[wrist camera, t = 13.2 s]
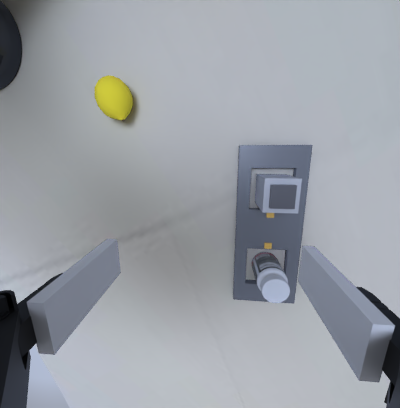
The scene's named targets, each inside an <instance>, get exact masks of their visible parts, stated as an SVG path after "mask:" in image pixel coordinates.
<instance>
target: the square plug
mask: <svg viewBox="0 0 400 408" xmlns="http://www.w3.org/2000/svg"><path fill="white" fill-rule="evenodd" d="M301 183H302V179H301V178H297V177H294V176H290V175H287V174H257V177H256V194H255V203H256V204H257V206H258V207H259V208H260V210H261V211H262V213H296V214H298V210H299V201H300V192H301Z"/></svg>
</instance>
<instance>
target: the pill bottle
mask: <svg viewBox="0 0 400 408" xmlns="http://www.w3.org/2000/svg"><path fill="white" fill-rule="evenodd" d="M252 268H253V272H254V275H255V279H256V283H257V286H258V288H259V289H260V291H261V292H262V295H263V297H264V298H265V299H266V300H267V301H269V302H272V303H280V302H283V301H285V300H286V299H287V298H288V296H289V294H290V288H289V285H288V279H287V277H286V275H285V273H284V271H283V269H282V267H281V266H280V264H279V262H278V260H277V258H276V257H275V256H274V255H273V254H271V253H268V252H262V253H259V254H257V255H256V256H255V257H254V258H253V260H252Z"/></svg>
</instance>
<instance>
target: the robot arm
mask: <svg viewBox="0 0 400 408" xmlns="http://www.w3.org/2000/svg"><path fill="white" fill-rule="evenodd" d="M20 60H21V40H20V35H19V31H18V28H17V25H16V23H15V21H14V19H13V17H12V15H11V13H10V12H9V10H8V9H7V7H6V6H5V5H4V4H3V3H2V2H1V1H0V89H2V88H4V87H5V86H6V85H8V84H9V83H10V82H11V81H12V79H13V78H14V77H15V75H16V73H17V71H18V68H19V65H20ZM120 273H121V271H120V262H119V252H118V243H117V239H106V240H105V241H104V242H102V243H101V244H100V245H99V246H97V247H96V248H95V249H94V250H92V251H91V252H90V253H88V254H87V255H86V256H85V257H83V258H82V259H81V260H80V261H78V262H77V263H76V264H74V265H73V266H72V267H71V268H69V269H68V270H67V271H66V272H64V273H61V274H59V275H57V276H55V277H53V278H51V279H50V280H49V281H47V282H46V283H45V284H44V285H42V286H41V287H39V288H38V290H36V291H34V292H33V293H32V294H30V295H29V296H28V297H26V298H25V299H24V300H22V301H21V302H20V303H18V304H17V301H16V297H15V294H14V292H13V291H11V290H4V291H0V408H26V405H27V393H28V382H29V369H30V359H31V356H30V352H29V350H30V349H31V348H32V347H33V346H34V345H35V344H36V343H37V347H38V352H39V353H41V354H53V355H55V353H56V352H57V351H58V350H59V349H60V347H61V346H62V345H63V344H64V342H65V341H66V340H67V339H68V337H69V336H70V335H71V334H72V332H73V331H74V330H75V329H76V327H77V326H78V325H79V324H80V322H81V321H82V320H83V319H84V317H85V316H86V315H87V314H88V313H89V311H90V310H91V309H92V308H93V306H94V305H95V304H96V303H97V301H98V300H99V299H100V298H101V296H102V295H103V294H104V293H105V291H106V290H107V289H108V288H109V286H110V285H111V284H112V283H113V281H114V280H115V279H116V278H117V276H118V275H119V274H120ZM298 282H299V284H300V285H301V287H302V289H303V290H304V292H305V294H306V295H307V297H308V298H309V300H310V302H311V303H312V305H313V307H314V308H315V310H316V311H317V313H318V315H319V316H320V318H321V320H322V321H323V323H324V324H325V326H326V328H327V329H328V331H329V333H330V334H331V336H332V337H333V339H334V341H335V342H336V344H337V346H338V347H339V349H340V350H341V352H342V354H343V355H344V357H345V359H346V360H347V362H348V363H349V365H350V367H351V368H352V370H353V372H354V373H355V375H356V376H357V378H358V380H359V381H370V382H379V381H380V378H381V374H382V371H384V373H385V374H386V375H387V377H388V378H389V379H390V384H389V388H388V391H387V395H386V398H385V401H384V402H385V403H386V404H387V407H386V408H400V318H398V317H397V316H396V315H395V314H394V313H393V312H392V311H391V310H389V309H388V307H386V306H385V305H384V304H383V303H381V301H380V300H379V299H378V298H377V297H376V296H375V295H373V294H372V293H370V292H369V291H367V290H365V289H364V288H362V287H355V286H354V285H353V284H352V283H351V282H350V281H349V280H348V279H347V278H346V277H345V276H344V275H343V274H342V273H341V272H340V271H339V270H338V269H337V268H336V267H335V266H334V265H333V264H332V263H331V262H330V261H329V260H328V259H327V258H326V257H325V256H324V255H323V254H322V253H321V252H320V251H319V250H318V249H317V248H316V247H315V246H302V254H301V261H300V269H299V277H298Z"/></svg>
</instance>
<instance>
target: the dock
mask: <svg viewBox="0 0 400 408" xmlns="http://www.w3.org/2000/svg"><path fill="white" fill-rule="evenodd" d="M311 153H312V145H241V146H239V162H238V187H237V212H236V238H235V263H234V288H233V299H237V300H251V301H266V302H269V301H267V300H266V299H265V298H264V297H263V295H262V292H261V291H260V289H259V288H258V286H257V283H256V280H245V278H246V259H247V248H254V249H277V250H286V253H285V264H284V273H285V275H286V277H287V279H288V285H289V288H290V294H289V296H288V298H287V299H286V300H285V301H283V302H280V303H294V301H295V292H296V283H297V274H298V266H299V257H300V248H301V240H302V231H303V222H304V214H305V205H306V196H307V188H308V179H309V170H310V161H311ZM251 168H294V172H293V176H294V177H297V178H301V179H302V183H301V192H300V201H299V210H298V214H296V213H262V211H261V210H260V208H249V203H250V184H251Z"/></svg>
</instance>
